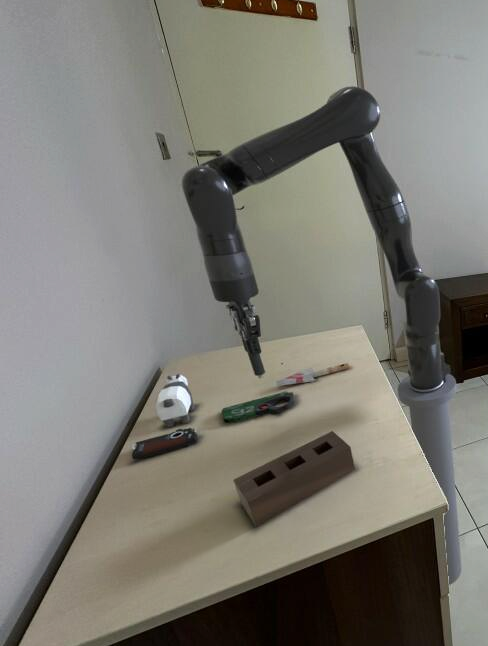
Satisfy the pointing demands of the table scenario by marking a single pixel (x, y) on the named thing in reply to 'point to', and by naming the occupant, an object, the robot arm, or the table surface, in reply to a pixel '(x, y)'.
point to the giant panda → (175, 401)
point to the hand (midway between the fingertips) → (253, 352)
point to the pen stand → (293, 477)
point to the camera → (164, 443)
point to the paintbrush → (310, 375)
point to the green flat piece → (257, 407)
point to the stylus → (255, 362)
